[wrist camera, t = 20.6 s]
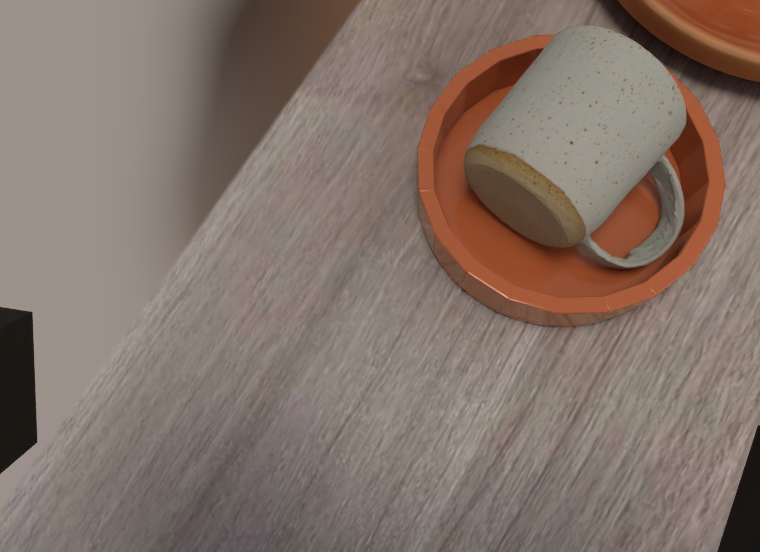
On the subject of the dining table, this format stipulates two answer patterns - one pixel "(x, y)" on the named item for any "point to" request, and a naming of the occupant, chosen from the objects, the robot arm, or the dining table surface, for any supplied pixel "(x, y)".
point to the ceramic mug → (582, 144)
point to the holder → (539, 262)
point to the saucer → (706, 31)
